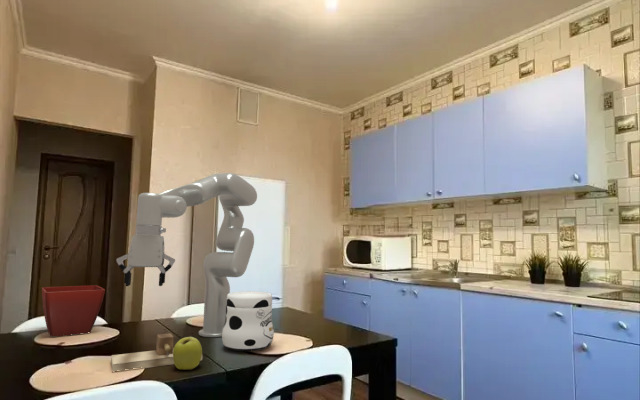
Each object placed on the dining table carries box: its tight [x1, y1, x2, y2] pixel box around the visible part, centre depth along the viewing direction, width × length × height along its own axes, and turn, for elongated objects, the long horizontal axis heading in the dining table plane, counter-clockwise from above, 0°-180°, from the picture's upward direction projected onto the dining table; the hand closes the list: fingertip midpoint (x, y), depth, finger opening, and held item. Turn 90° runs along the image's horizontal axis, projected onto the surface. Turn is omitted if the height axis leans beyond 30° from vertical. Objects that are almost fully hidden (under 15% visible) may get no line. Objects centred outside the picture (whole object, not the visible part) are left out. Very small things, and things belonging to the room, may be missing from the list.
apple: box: [173, 332, 203, 371], centre depth 110 cm, size 8×8×10 cm
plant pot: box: [41, 284, 106, 337], centre depth 150 cm, size 19×19×17 cm
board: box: [110, 347, 204, 371], centre depth 115 cm, size 24×10×2 cm, turn 121°
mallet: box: [155, 332, 174, 356], centre depth 116 cm, size 4×10×5 cm, turn 31°
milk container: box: [221, 290, 275, 352], centre depth 133 cm, size 17×17×18 cm
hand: (144, 285), depth 122 cm, fingers open, 9 cm apart
